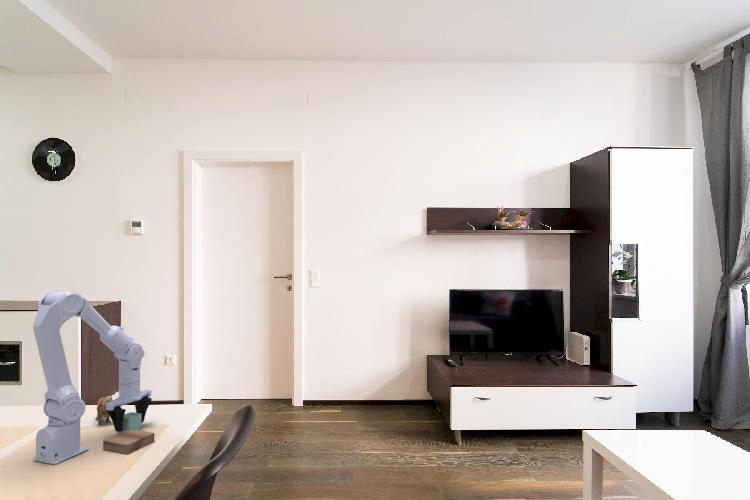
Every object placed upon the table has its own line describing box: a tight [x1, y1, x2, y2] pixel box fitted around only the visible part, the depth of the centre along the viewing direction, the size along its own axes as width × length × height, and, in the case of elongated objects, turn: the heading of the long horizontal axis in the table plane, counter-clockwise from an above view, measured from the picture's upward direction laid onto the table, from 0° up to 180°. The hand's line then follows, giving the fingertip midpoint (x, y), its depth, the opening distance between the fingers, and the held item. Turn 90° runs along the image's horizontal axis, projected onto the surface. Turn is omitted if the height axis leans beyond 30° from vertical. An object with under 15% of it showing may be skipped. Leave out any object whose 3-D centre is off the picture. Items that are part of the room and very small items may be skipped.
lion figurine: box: [94, 395, 114, 426], centre depth 147 cm, size 15×5×9 cm, turn 44°
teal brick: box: [117, 411, 143, 434], centre depth 137 cm, size 4×4×5 cm
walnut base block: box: [102, 429, 155, 455], centre depth 127 cm, size 9×9×2 cm
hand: (129, 426), depth 137 cm, fingers open, 7 cm apart
